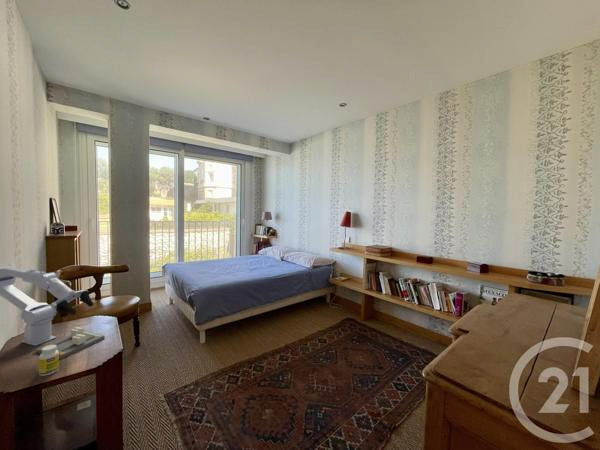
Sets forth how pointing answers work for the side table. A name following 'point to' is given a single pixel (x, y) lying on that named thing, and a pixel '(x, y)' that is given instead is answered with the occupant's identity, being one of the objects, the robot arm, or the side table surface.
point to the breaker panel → (68, 348)
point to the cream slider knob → (77, 331)
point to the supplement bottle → (48, 360)
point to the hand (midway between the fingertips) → (83, 309)
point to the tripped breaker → (78, 339)
